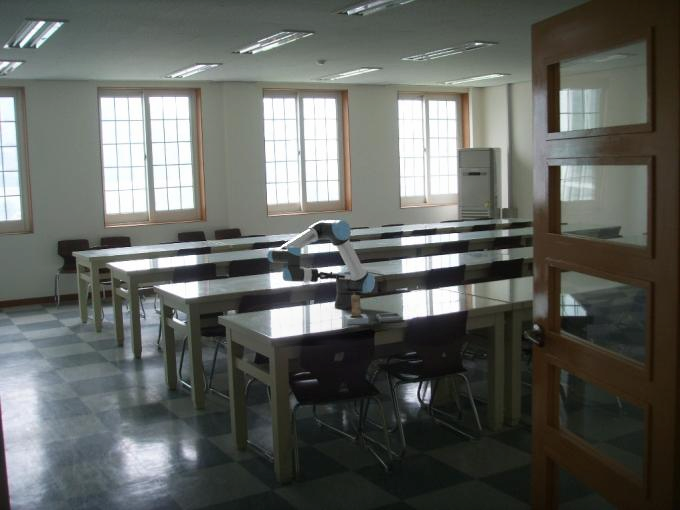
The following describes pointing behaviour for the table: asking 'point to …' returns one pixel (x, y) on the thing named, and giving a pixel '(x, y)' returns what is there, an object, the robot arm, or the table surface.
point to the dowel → (356, 306)
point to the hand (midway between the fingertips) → (346, 276)
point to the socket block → (356, 319)
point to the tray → (389, 317)
